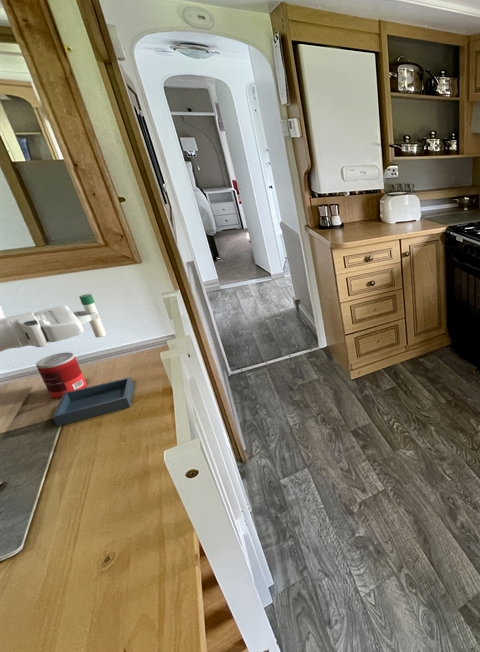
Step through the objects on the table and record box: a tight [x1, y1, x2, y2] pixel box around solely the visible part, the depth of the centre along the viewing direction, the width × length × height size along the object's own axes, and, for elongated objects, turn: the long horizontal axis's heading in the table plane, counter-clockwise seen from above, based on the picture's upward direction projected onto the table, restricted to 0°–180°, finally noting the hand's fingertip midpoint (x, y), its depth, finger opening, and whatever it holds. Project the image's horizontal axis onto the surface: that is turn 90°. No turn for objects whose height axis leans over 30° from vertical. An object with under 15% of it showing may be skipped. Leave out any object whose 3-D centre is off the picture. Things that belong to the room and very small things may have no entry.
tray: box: [52, 376, 135, 427], centre depth 106 cm, size 15×13×3 cm
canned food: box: [35, 352, 87, 399], centre depth 110 cm, size 8×8×11 cm
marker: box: [78, 293, 107, 338], centre depth 115 cm, size 3×3×14 cm
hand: (96, 313), depth 116 cm, fingers closed on marker, 2 cm apart
